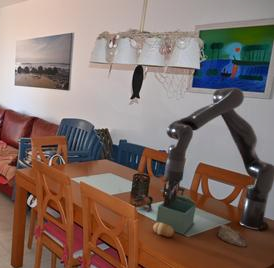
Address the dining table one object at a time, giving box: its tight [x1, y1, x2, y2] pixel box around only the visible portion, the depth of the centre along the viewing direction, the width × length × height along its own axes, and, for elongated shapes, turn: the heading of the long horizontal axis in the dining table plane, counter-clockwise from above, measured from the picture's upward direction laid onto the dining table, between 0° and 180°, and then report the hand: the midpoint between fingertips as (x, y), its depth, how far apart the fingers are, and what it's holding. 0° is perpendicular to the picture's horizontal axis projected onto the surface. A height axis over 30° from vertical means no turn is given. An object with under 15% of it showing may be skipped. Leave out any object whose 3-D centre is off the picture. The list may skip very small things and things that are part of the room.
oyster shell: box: [217, 224, 246, 247], centre depth 150 cm, size 10×12×5 cm
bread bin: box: [155, 199, 197, 235], centre depth 162 cm, size 17×13×10 cm
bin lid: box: [160, 186, 197, 206], centre depth 160 cm, size 18×13×5 cm
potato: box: [152, 222, 175, 238], centre depth 150 cm, size 9×5×5 cm, turn 50°
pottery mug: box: [132, 194, 154, 212], centre depth 180 cm, size 12×10×8 cm
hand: (169, 203), depth 149 cm, fingers open, 8 cm apart
